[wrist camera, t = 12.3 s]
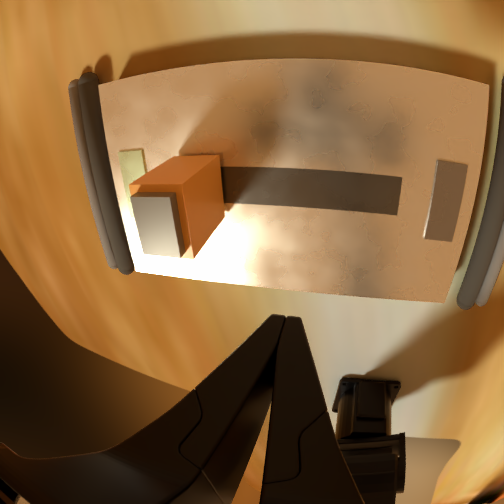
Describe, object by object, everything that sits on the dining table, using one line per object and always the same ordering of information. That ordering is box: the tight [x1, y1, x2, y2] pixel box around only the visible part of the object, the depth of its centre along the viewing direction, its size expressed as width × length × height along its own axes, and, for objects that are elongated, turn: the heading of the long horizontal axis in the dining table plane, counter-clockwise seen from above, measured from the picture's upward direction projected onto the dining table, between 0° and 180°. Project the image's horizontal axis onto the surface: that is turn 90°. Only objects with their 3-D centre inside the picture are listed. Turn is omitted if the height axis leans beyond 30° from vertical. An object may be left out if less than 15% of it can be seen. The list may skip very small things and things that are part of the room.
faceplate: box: [98, 58, 489, 303], centre depth 19 cm, size 15×24×2 cm, turn 93°
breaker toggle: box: [129, 155, 225, 260], centre depth 17 cm, size 4×3×6 cm
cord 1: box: [68, 72, 135, 275], centre depth 23 cm, size 18×3×2 cm, turn 3°
